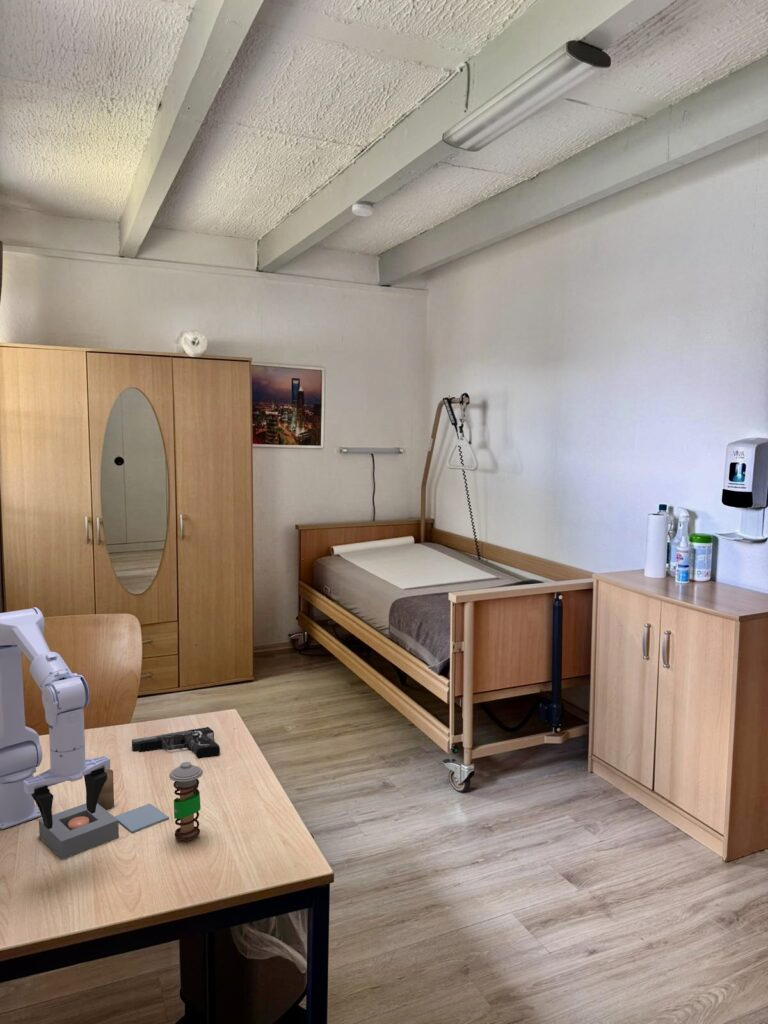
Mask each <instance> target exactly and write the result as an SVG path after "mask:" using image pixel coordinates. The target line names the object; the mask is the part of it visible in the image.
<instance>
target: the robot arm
mask: <svg viewBox="0 0 768 1024" xmlns="http://www.w3.org/2000/svg"><path fill="white" fill-rule="evenodd" d="M45 625H46V623H45V617H44V614H43V612H42V611H41V610H40V609H39V608H38V607H31V608H25V609H20V610H13V611H7V612H0V829H1V830H5V829H7V828H11V827H14V826H17V825H19V824H23V823H25V822H27V821H31V820H35V819H36V818H39V817H41V819H43V823H44V826H45V827H46V828H47V829H51V828H52V825H53V821H52V815H53V800H54V794H52V793H51V792H50V788H49V787H52V786H55V785H59V784H61V783H65V782H69V781H70V782H72V783H73V782H76V781H79V780H83V779H84V785H85V801H86V802H85V803H86V806H87V810H88V811H89V812H90V813H91V814H92V813H95V811H96V806H97V802H98V798H99V795H100V792H101V790H102V788H103V786H104V784H105V782H106V780H107V773H106V772H104V770H108V769H111V758H110V757H108V756H107V755H102V756H100V757H99V756H98V757H93V758H88V759H86V741H85V740H86V739H85V738H86V737H85V710H84V708H86V707H88V705H89V703H90V689H89V686H88V685H89V684H88V682H87V681H86V679H85V676H83V675H82V674H78V673H77V672H75V673H74V672H72V671H71V669H70V668H69V666H68V665H67V663H66V661H64V658H63V657H62V656H61V654H59V653H58V652H55V651H51V650H50V647H49V645H48V643H47V642H46V639H45V637H44V632H45V627H46V626H45ZM22 653H23V654H24V656H26V657H25V658H27V660H29V661H30V665H29V673H30V675H31V677H32V678H33V680H34V681H35V683H36V684H37V686H38V688H39V689H40V691H41V701H42V705H43V706H42V707H43V709H44V715H45V721H46V724H48V732H49V734H48V736H49V738H48V739H49V740H48V741H49V763H50V764H49V765H50V769H47V770H45V771H43V772H41V773H39V774H37V775H35V776H34V774H35V773H37V768H38V767H40V766H41V763H42V761H43V749H42V745H41V741H40V736H39V734H38V732H37V731H36V730H35V729H33V728H31V727H30V726H26V716H25V701H24V700H25V699H24V696H25V695H24V682H23V668H22V667H23V666H22ZM35 803H36V805H35Z"/></svg>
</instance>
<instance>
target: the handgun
mask: <svg viewBox="0 0 768 1024" xmlns="http://www.w3.org/2000/svg"><path fill="white" fill-rule="evenodd" d="M214 740H215V732H214V730H213V729H212V728H211V727H209V726H206V727H200V728H195V729H192V728H191V729H188V730H182V731H176V732H175V731H174V732H169V733H163V734H156V735H152V736H151V735H150V736H145V737H138V738H132V739H131V748H132V751H133V752H139V753H142V752H145V753H146V751H147V752H150V751H154V750H155V751H157V750H158V749H159V750H169V751H174V750H180V749H187V750H189V751H191V752H192V753H194V754H195V757H196V758H197V759H199V760H200V759H205V758H213V757H219V756H220V754H221V748H220V747H221V746H220V745H219V744H218V743H217V742H216V741H214Z"/></svg>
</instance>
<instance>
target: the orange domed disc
mask: <svg viewBox="0 0 768 1024" xmlns="http://www.w3.org/2000/svg"><path fill="white" fill-rule="evenodd" d="M86 824H89V818H88V817H84V816H81V817H76V818H73V819H71V820H70V821H69V822H68V829H69V830H73V829H76V828H78V827H81V826H84V825H86Z"/></svg>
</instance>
